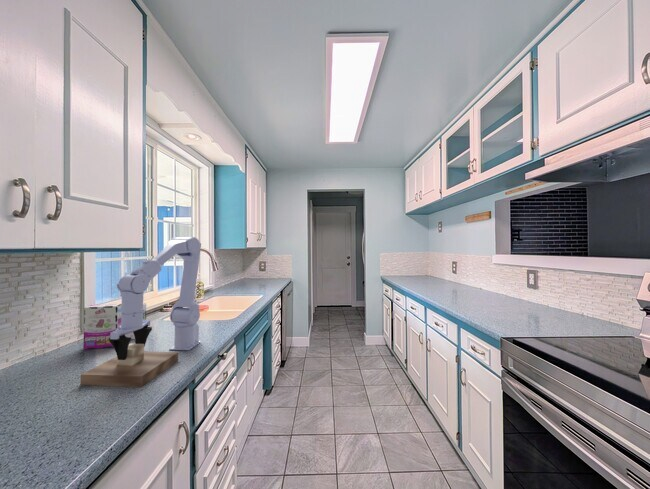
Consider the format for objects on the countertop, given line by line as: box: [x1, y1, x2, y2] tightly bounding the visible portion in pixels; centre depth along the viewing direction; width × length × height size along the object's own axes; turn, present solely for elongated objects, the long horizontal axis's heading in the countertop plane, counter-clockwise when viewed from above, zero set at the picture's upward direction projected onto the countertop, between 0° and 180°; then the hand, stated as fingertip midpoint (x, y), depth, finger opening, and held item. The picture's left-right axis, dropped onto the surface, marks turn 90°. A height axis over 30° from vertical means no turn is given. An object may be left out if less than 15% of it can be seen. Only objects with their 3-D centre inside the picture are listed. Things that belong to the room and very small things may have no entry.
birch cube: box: [117, 342, 145, 366], centre depth 87 cm, size 5×5×5 cm
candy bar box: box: [83, 303, 122, 350], centre depth 108 cm, size 11×5×16 cm, turn 105°
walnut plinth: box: [80, 350, 179, 388], centre depth 87 cm, size 18×18×3 cm
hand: (131, 354), depth 87 cm, fingers open, 7 cm apart
